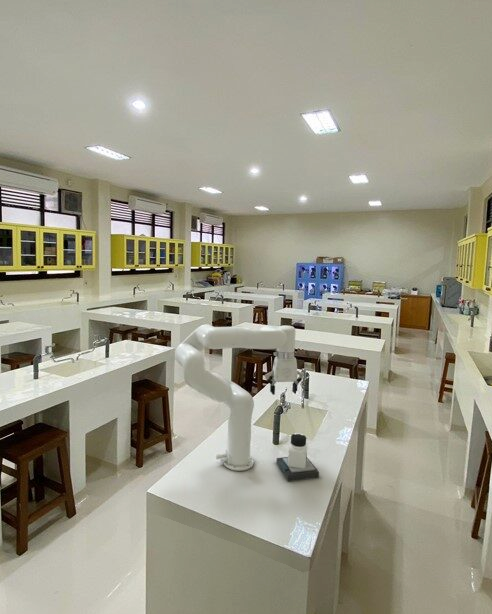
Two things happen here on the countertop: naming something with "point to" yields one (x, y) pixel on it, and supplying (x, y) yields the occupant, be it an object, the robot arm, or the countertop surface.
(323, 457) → the countertop surface
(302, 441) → the medicine bottle
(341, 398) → the countertop surface
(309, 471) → the lab scale
